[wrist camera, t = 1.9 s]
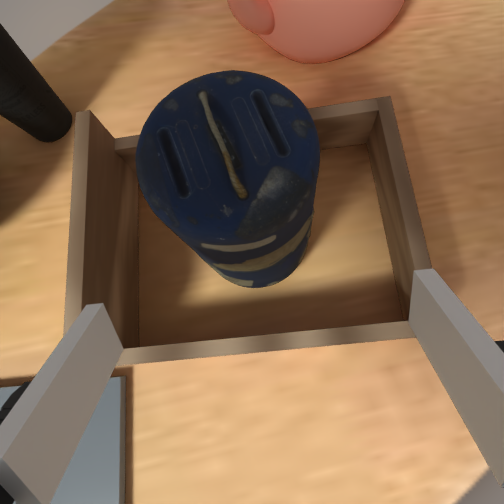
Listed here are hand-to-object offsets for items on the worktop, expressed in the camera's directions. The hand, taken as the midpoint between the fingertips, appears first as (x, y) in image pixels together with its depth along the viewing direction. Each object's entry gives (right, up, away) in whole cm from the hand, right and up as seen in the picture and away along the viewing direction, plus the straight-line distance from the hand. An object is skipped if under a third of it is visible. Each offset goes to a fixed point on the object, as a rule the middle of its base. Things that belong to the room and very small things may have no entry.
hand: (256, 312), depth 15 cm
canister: (0, +3, +18) cm, 18 cm away
